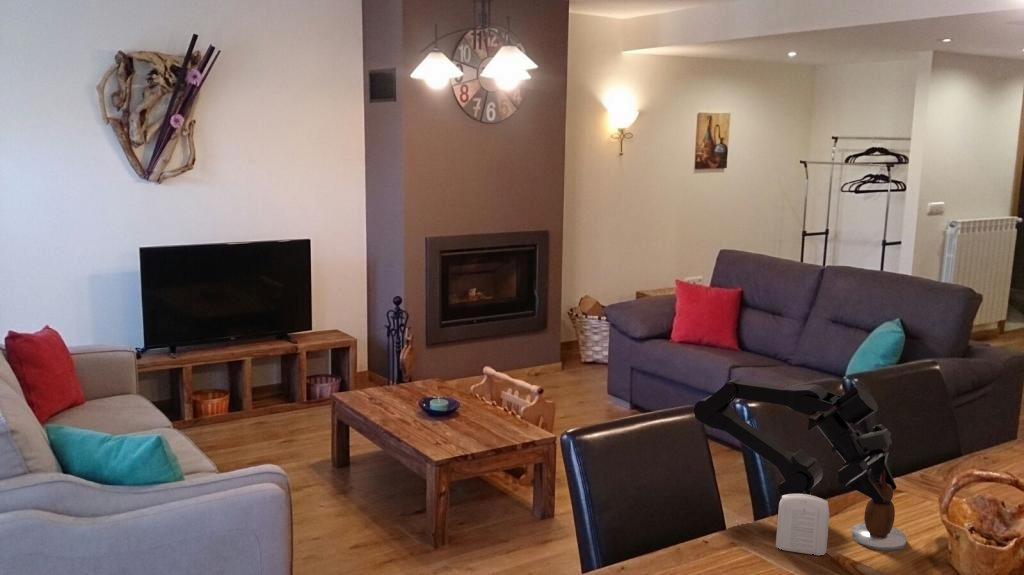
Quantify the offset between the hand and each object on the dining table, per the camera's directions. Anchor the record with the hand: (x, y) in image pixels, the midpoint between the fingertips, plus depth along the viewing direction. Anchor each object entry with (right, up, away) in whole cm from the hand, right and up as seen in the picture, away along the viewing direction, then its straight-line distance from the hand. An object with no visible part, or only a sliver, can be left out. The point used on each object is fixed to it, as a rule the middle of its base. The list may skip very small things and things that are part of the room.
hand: (888, 495), depth 194 cm
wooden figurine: (-1, -9, +3) cm, 9 cm away
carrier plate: (-1, -10, +3) cm, 11 cm away
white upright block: (-20, -11, -3) cm, 23 cm away
